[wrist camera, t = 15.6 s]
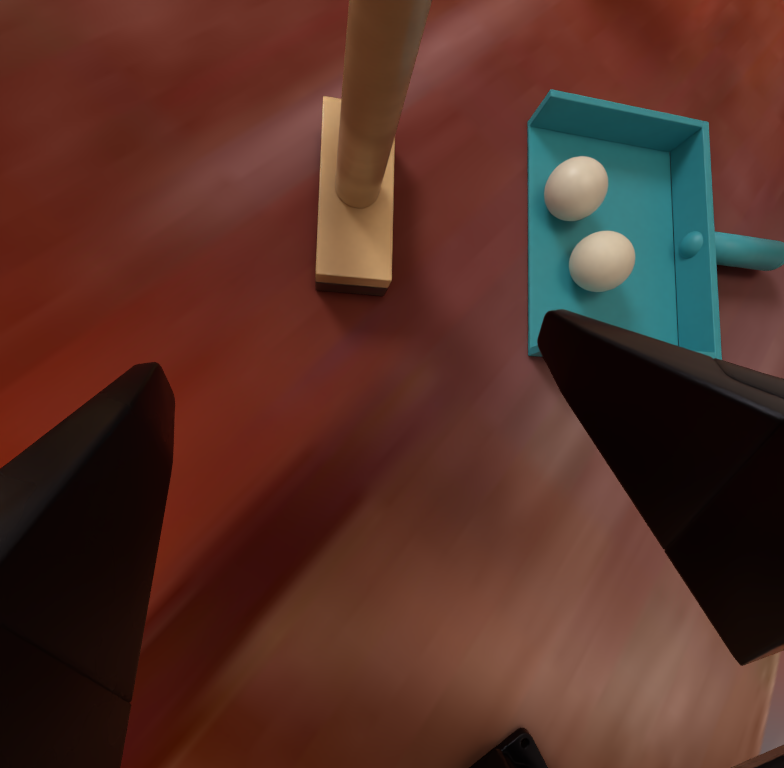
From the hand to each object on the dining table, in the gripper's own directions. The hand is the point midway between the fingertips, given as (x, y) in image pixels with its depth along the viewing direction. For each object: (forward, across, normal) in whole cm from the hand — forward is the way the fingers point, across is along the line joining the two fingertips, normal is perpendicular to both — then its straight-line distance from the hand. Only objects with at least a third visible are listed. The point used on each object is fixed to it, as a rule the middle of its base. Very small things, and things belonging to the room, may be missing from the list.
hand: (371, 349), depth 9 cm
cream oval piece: (+16, -17, +2) cm, 24 cm away
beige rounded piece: (+13, -16, +5) cm, 22 cm away
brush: (+17, -2, +2) cm, 17 cm away
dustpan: (+14, -23, +5) cm, 27 cm away
